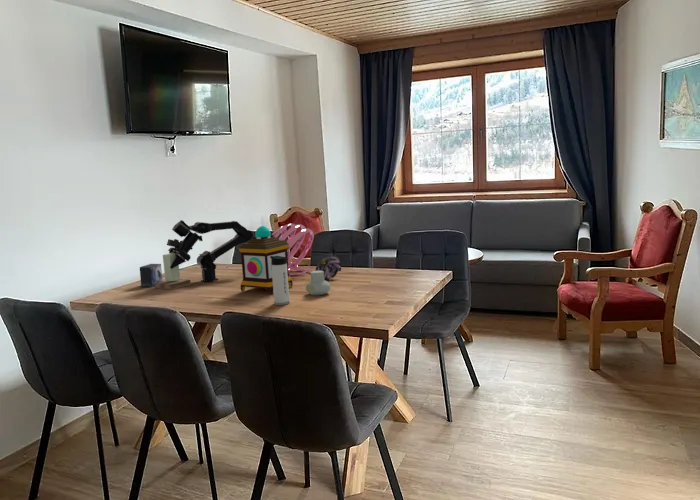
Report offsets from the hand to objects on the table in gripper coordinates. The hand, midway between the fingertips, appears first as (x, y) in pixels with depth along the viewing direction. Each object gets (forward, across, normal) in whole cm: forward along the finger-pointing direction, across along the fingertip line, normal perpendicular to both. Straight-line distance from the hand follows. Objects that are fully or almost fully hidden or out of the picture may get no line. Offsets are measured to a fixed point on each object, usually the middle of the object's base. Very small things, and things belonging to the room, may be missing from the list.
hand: (168, 267), depth 278 cm
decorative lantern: (-15, +44, +30) cm, 55 cm away
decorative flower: (-40, +42, +54) cm, 79 cm away
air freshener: (-24, +70, +39) cm, 84 cm away
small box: (+11, -12, +3) cm, 17 cm away
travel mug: (-10, +74, +24) cm, 79 cm away
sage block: (+4, 0, +6) cm, 7 cm away
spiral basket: (-35, +17, +50) cm, 63 cm away
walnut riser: (+6, 0, +8) cm, 10 cm away
